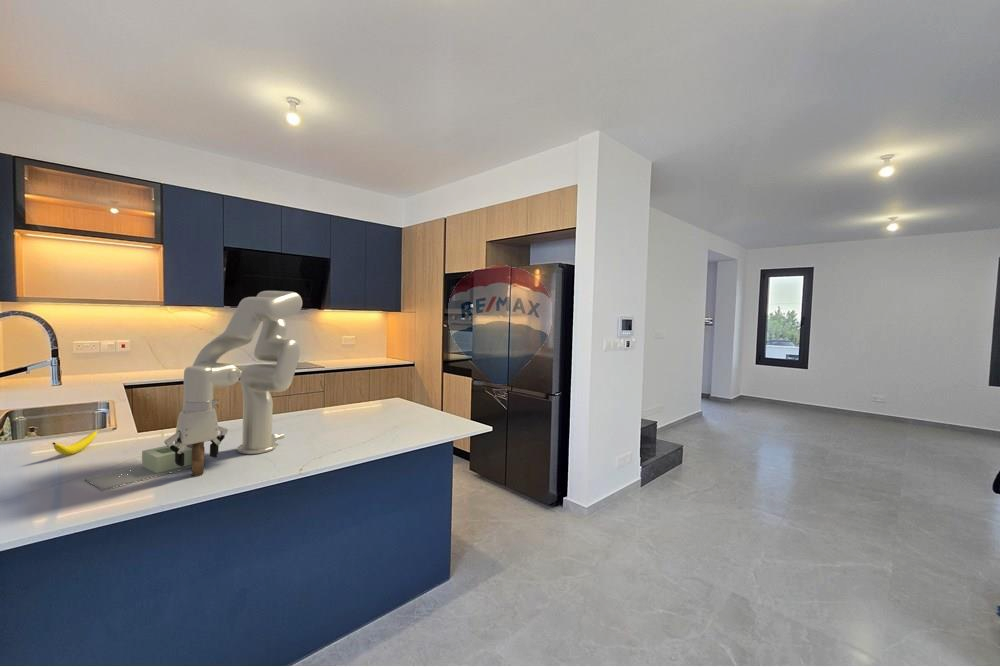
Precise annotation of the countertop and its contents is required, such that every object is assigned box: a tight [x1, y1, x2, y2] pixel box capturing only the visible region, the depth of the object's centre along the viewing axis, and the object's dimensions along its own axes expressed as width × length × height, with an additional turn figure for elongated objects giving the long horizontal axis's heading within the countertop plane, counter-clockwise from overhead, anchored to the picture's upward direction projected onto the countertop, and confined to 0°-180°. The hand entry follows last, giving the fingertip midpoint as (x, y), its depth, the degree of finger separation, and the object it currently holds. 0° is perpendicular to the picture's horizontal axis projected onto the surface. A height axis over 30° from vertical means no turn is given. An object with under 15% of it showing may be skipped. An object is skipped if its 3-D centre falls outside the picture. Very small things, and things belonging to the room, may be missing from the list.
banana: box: [51, 430, 99, 456], centre depth 143 cm, size 3×19×6 cm, turn 11°
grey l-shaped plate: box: [85, 440, 206, 491], centre depth 130 cm, size 25×15×6 cm, turn 151°
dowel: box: [191, 442, 205, 477], centre depth 130 cm, size 3×3×10 cm
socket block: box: [141, 443, 192, 473], centre depth 135 cm, size 10×10×5 cm
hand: (197, 460), depth 129 cm, fingers open, 8 cm apart
